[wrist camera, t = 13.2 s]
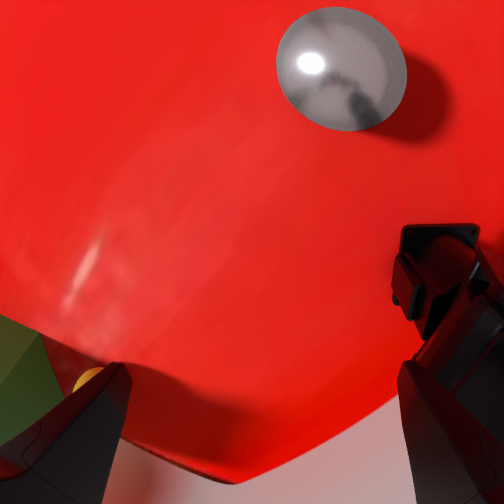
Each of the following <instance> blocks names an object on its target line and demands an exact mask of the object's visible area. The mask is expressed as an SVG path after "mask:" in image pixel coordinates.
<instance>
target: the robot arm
mask: <svg viewBox="0 0 504 504" xmlns="http://www.w3.org/2000/svg"><path fill="white" fill-rule="evenodd" d="M472 229H473V231H472V233H470V232H471V230H472ZM408 231H411V233H410V234H409V235H406V234H407V232H408ZM477 235H478V228H477V227H476V226H475V225H474V224H425V225H406V226H404V227H403V229H402V231H401V239H400V247H399V254H397V256H396V257H395V263H394V270H393V277H392V283H391V287H392V289H393V295H392V301H393V303H394V305H396V306H401V308H402V310H403V312H404V315H405V317H406V319H407V320H408V321H414V323H415V325H416V327H417V329H418V332H419V334H420V336H421V338H422V340H426V341H425V343H424V344H423V345H422V347H421V348H420V350H419V351H418V353H417V354H414V356H413V357H412V359H411V360H407V361H404V362H403V363H402V365H401V369H400V372H399V375H398V378H397V387H398V395H399V403H400V412H401V420H402V427H403V432H404V437H405V441H406V446H407V450H408V455H409V461H410V466H411V471H412V477H413V483H414V488H415V494H416V501H417V504H504V256H503V255H500V254H498V253H495V252H493V251H491V250H488V249H486V248H483V247H481V246H478V248H477V249H476V248H475V245H476V240H477ZM397 299H398V300H397ZM131 387H132V379H131V376H130V374H129V372H128V371H127V369H126V367H125V365H124V364H123V363H119V362H112V363H110V364H109V365H107V366H106V367H105V368H104V369H102V370H101V371H100V372H99V373H97V374H96V375H95V376H93V377H92V378H91V379H90V380H88V381H87V382H86V383H85V384H83V385H82V386H81V387H79V388H78V389H77V390H76V391H74V392H73V393H72V394H71V395H69V396H68V397H67V398H65V399H64V400H63V401H62V402H60V403H59V404H58V405H57V406H55V407H54V408H53V409H51V410H50V411H49V412H48V413H46V414H45V415H44V416H43V417H42V418H40V419H39V420H37V421H36V422H35V423H33V424H32V425H31V426H29V427H28V428H27V429H25V430H24V431H23V432H21V433H20V434H18V435H17V436H15V437H13V438H12V439H10V440H9V441H7V442H6V443H4V444H2V445H1V446H0V504H102V501H103V497H104V493H105V489H106V485H107V481H108V477H109V474H110V470H111V467H112V463H113V459H114V456H115V452H116V449H117V446H118V442H119V439H120V436H121V432H122V429H123V426H124V422H125V418H126V413H127V407H128V402H129V397H130V392H131Z"/></svg>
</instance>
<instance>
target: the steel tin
mask: <svg viewBox="0 0 504 504" xmlns="http://www.w3.org/2000/svg"><path fill="white" fill-rule="evenodd" d="M276 68H277V75H278V81H279V85H280V88H281V90H282V93H283V95H284V96H285V98H286V99H287V101H288V102H289V103H290V104H291V105H292V106H293V107H294V108H295V109H296V110H297V111H298V112H300V113H301V114H302V115H304V116H305V117H307V118H308V119H310V120H311V121H313V122H315V123H317V124H319V125H321V126H323V127H327V128H330V129H334V130H339V131H358V130H364V129H367V128H370V127H373V126H375V125H377V124H379V123H381V122H382V121H384V120H385V119H387V118H388V117H389V116H390V115H391V114H392V113H393V112H394V111H395V110H396V108H397V107H398V105H399V104H400V102H401V100H402V98H403V96H404V93H405V89H406V84H407V67H406V62H405V58H404V55H403V52H402V50H401V48H400V46H399V44H398V42H397V41H396V39H395V38H394V37H393V35H392V34H391V33H390V32H389V31H388V30H387V28H386V27H384V26H383V25H382V24H381V23H380V22H378V21H377V20H375V19H374V18H372V17H371V16H369V15H367V14H365V13H362V12H359V11H357V10H353V9H349V8H342V7H328V8H321V9H318V10H314V11H311V12H309V13H307V14H305V15H303V16H302V17H300V18H298V19H297V20H296V21H295V22H294V23H293V24H292V25H291V26H290V27H289V28H288V29H287V31H286V32H285V34H284V35H283V37H282V39H281V41H280V44H279V47H278V51H277V58H276Z"/></svg>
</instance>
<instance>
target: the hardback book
mask: <svg viewBox="0 0 504 504" xmlns="http://www.w3.org/2000/svg"><path fill="white" fill-rule="evenodd" d="M64 399H65V398H64V396H63V393H62V391H61V389H60V386H59V384H58V381H57V379H56V377H55V374H54V371H53V369H52V366H51V364H50V361H49V358H48V355H47V353H46V350H45V347H44V344H43V341H42V338H41V335H40V333H39V332H37V331H35V330H33V329H30V328H28V327H26V326H24V325H22V324H19V323H17V322H15V321H13V320H11V319H9V318H7V317H5V316H3V315H1V314H0V446H1V445H2V444H4V443H6V442H7V441H9V440H10V439H12V438H13V437H15V436H17V435H18V434H20V433H21V432H23V431H24V430H25V429H27V428H28V427H29V426H31V425H32V424H33V423H35V422H36V421H37V420H39V419H40V418H42V417H43V416H44V415H45V414H46V413H48V412H49V411H50V410H51V409H53V408H54V407H55V406H57V405H58V404H59V403H60V402H62V401H63V400H64Z"/></svg>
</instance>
